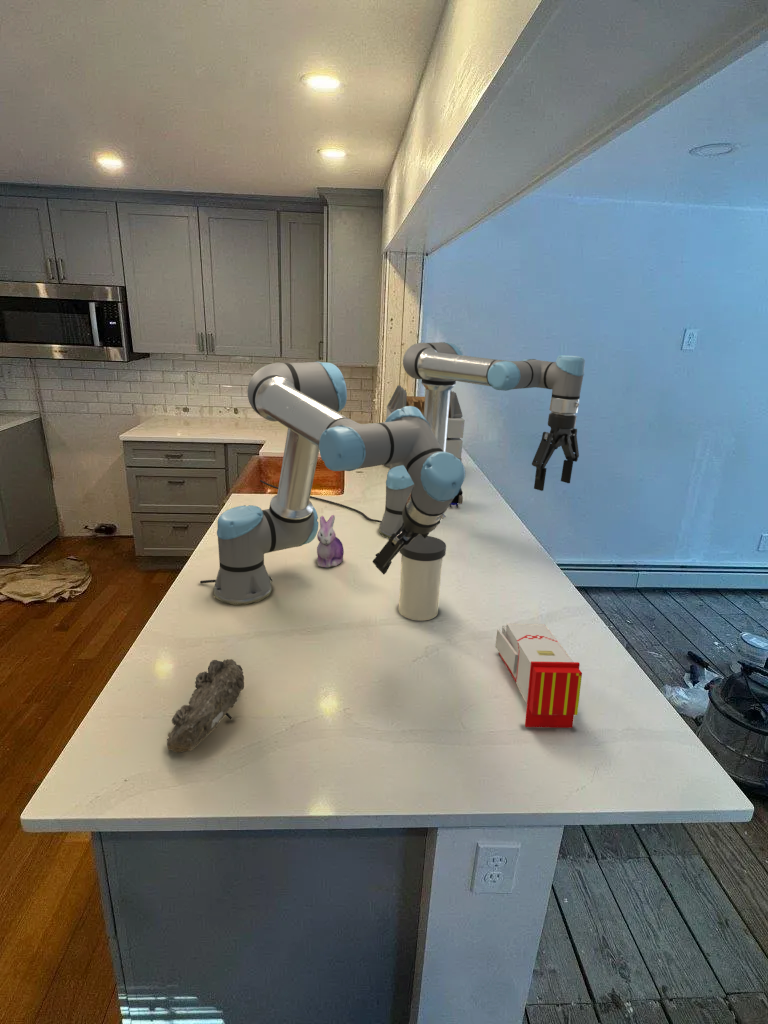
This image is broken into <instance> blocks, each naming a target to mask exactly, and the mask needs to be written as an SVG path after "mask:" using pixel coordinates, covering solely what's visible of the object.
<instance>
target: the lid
mask: <svg viewBox="0 0 768 1024" xmlns="http://www.w3.org/2000/svg"><path fill="white" fill-rule="evenodd" d="M406 538H407V539H408V540H409V539H410V538H411V537H406ZM446 551H447V544H446V542H444V540H442V539H441V538H438V537H434V536H431V535H428V536H427V537H426V538H424V537H423V536H422V535H418V536H417V537H415V538H414V539H413V540H412V541H411V542H410V543H409V544H408V545H405V546H404V547H403V548H402V549H401V550H400V551H399V553H400V555H401V556H402V555H403V556H405V557H407V558H409V559H412V560H417V561H435V560H438V559H441V558H442V559H443V558H444V557H445V556H446Z"/></svg>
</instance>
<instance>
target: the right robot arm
mask: <svg viewBox="0 0 768 1024" xmlns="http://www.w3.org/2000/svg"><path fill="white" fill-rule="evenodd" d="M585 365H586V360H585V358H584V357H582V356H578V355H566V354H565V355H564V354H563V355H558V356H557V357H556V360H555V361H549V360H541V359H536V358H524V359H521V360H506V359H505V360H504V359H503V360H502V359H496V358H487V357H479V356H471V355H464V354H463V352H462V350H461V349H460V347H459V346H457V345H456V344H455V343H451V342H445V341H443V342H442V341H441V342H440V341H439V342H438V341H437V342H417V343H414V344H412V345H411V346H409V347H408V348H407V350H406V351H405V353H404V355H403V358H402V366H403V369H404V372H405V373H406V374H407V375H408V376H409V377H411V378H412V379H415V380H421V385H422V386H423V387H424V389H425V392H424V397H425V404H424V417H425V419H426V421H427V422H428V423H429V425H430V428H431V430H432V432H433V433H434V435H435V437H436V439H437V441H438V443H439V445H440V447H441V448H442V450H443V452H446V441H447V428H448V416H449V404H450V392H451V391H452V389H453V388H454V387H455V386H456V384H457V382H461V383H465V384H473V385H479V386H487V387H491V388H492V389H494V390H496V391H503V392H504V391H511V390H520V389H532V388H533V389H534V388H539V389H546V390H551V398H550V404H549V413H548V418H547V419H548V420H547V426H548V427H549V428H550V431H549V432H548V431H543V432H542V435H541V440H540V442H539V445H538V447H537V449H536V452H535V454H534V457H533V460H532V461H531V466H533V467H535V475H534V477H535V478H534V485H533V489H534V490H537V491H539V492H543V491H544V489H545V484H546V483H545V482H546V476H547V468H546V466H547V465H548V463H549V461H550V459H551V457H552V456H553V454H554V453H555V451H556V450H557V449H558V448H560V447H561V449H562V452H563V455H564V458H565V459H563V463H562V468H561V469H562V470H561V475H560V482H562V483H566V484H571V478H572V472H573V466H574V463H576V462H578V461H579V457H580V453H579V444H578V428H576V423H577V419H578V416H577V414H578V412H579V411H578V410H579V406H580V397H581V391H582V385H583V380H584V376H585ZM259 482H260V483H262V484H264V485H266V486H267V487H270V488H273V489H276V490H278V487H279V486H276V485H273V484H271V483H268V482H266V481H264V480H262V479H260V480H259ZM413 487H414V483H413V481H412V479H411V477H410V475H409V474H408V472H407V470H406V468H405V467H404V465H401V466H396V467H394V468H392V469H390V468H389V470H388V472H387V474H386V479H385V504H384V505H385V507H384V508H385V509H384V513H383V515H382V519H381V520H379V519H375V518H370V517H368V516H367V515H366V514H365V513H364V512H362V511H360V510H359V509H356V508H353V507H350V506H348V505H345V504H342V503H338V502H335V501H332V500H329V499H324V498H320V497H317V496H312V495H310V499H313V500H318V501H321V502H325V503H329V504H333V505H336V506H339V507H343V508H345V509H348V510H351V511H354V512H355V513H358V514H360V515H362V516H363V517H364V518H365V519H366V520H368V521H370V522H375V523H379V526H378V533H379V534H380V535H381V536H382V537H385V538H387V539H390V537H391V536H392V534H393V533H396V532H397V531H398V530H399V529H400V528H401V526H402V524H403V518H402V512H403V509H404V506H405V504H406V502H407V500H408V497H409V495H410V493H411V491H412V489H413ZM419 535H421V534H419Z"/></svg>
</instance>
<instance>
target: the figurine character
mask: <svg viewBox="0 0 768 1024" xmlns="http://www.w3.org/2000/svg"><path fill="white" fill-rule="evenodd" d="M463 493H464V492H463V489H462V488H461V489H460V491H459V493H458V494H457V495H456V496H455V497H454V499H453V500H452V502H451V503H450V505H449V508H452V506H456V507H455V508H456V509H458V508H459V505H463V501H464V495H463Z"/></svg>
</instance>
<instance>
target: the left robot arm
mask: <svg viewBox="0 0 768 1024" xmlns="http://www.w3.org/2000/svg"><path fill="white" fill-rule="evenodd" d="M342 373H343V372H342V371H341V370H340V369H339V367H338V366H337V365H335V364H334V363H332V362H323V361H318V360H317V361H312V362H311V361H310V362H307V361H305V362H273V363H269V364H266V365H264V366H261V367H260V368H259V369H258V370H257V371H256V372H255V373H253V375H252V377H251V378H250V380H249V382H248V385H247V400H248V402H249V405H250V406H251V408H252V409H253V411H254V412H255V413H256V414H258V415H259V416H260V417H262V418H263V419H265V420H266V421H269V422H278V423H280V424H281V425H283V426H284V427H286V428H287V431H286V438H285V444H284V449H283V456H282V457H283V458H282V461H281V468H280V476H279V480H278V481H279V482H278V486H277V487H278V489H277V494H275V495H274V496H272V497H271V499H270V502H269V508H267V509H262V508H261V507H259V506H257V505H254V504H253V505H251V504H250V505H238V506H234V507H231V508H229V509H226V510H225V511H223V512H222V513H221V514H220V515H219V516H218V519H217V530H216V536H217V544H218V545H217V546H218V561H219V569H218V572H217V576H216V578H215V579H205V580H200V581H199V583H200V584H208V583H209V584H210V583H214V586H213V592H214V598H216V599H217V600H218V601H219V602H221V603H224V604H228V605H236V606H237V605H239V606H240V605H249V604H250V605H251V604H255V603H258V602H261V601H263V600H265V599H267V598H268V597H269V596H270V595H271V593H272V590H273V587H272V586H273V585H272V582H273V579H272V576H270V574H268V571H267V568H266V565H265V554H269V553H273V552H277V551H278V552H279V551H283V550H287V549H293V548H298V547H302V546H304V545H307V544H310V543H311V542H313V541H314V539H315V538H316V537H317V534H318V532H319V522H318V519H319V515H318V512H317V510H316V508H315V506H314V505H313V503H312V501H311V498H310V496H311V493H312V489H313V483H314V479H315V473H316V469H317V463H318V458H319V456H320V458H321V460H322V461H323V462H324V466H325V467H326V469H328V470H330V471H332V472H342V471H343V472H351V471H352V472H353V471H356V470H360V469H367V468H373V467H378V466H384V465H386V464H393V463H400V462H402V463H403V465H404V467H405V468H406V470H407V472H408V474H409V475H410V477H411V479H412V481H413V483H414V487H413V489H412V491H411V493H410V495H409V497H408V500H407V502H406V504H405V506H404V509H403V512H402V518H403V524H402V526H401V528H400V529H399V530H398V531H397V532H396V533H393V534H392V536H391V537H390V538H388V540H387V542H386V543H385V544H384V546H383V547H382V548H381V549H380V551H379V552H377V553H376V554H375V557H374V559H373V560H372V563H373V565H375V568H376V569H378V570H379V572H380V573H381V574H382V575H386V574H387V573H388V570H389V568H390V566H391V565H392V563H393V562H392V561H393V559H394V558H395V557H396V556H397V555H398V554H399V553H400V550H401V549H402V548H403V547H404V546H405V545H408V544H409V543H410V542H411V541H412V540H413V539H414V538H415V537H417V536H418V535H419V534H421V535H422V536H423V537H424V538H426V537H427V536H429V534H430V533H432V532H433V531H434V530H435V529H436V528H437V527H438V525H439V524H440V523H441V520H445V519H446V516H447V515H446V511H448V508H450V506H449V505H450V503H451V502H452V500H453V499H454V497H455V496H456V495H457V494H458V493H459V491H460V489H462V485H463V484H464V482H465V478H466V468H465V466H464V463H463V462H461V461H460V459H458V458H456V457H455V456H454V455H453V454H451V453H448V452H443V450H442V448H441V447H440V445H439V443H438V441H437V439H436V437H435V435H434V433H433V432H432V430H431V428H430V425H429V423H428V422H427V421H426V419H425V417H424V416H423V415H422V413H421V412H420V410H419V409H418V408H416V407H413V406H405V407H403V408H402V409H397V410H395V411H394V412H392V413H391V414H390V415H389V416H388V417H387V419H386V418H385V421H384V422H383V421H382V422H375V423H374V422H373V423H359V422H357V421H355V420H353V419H351V418H349V417H347V416H345V415H343V414H341V413H340V412H341V411H342V410H343V409H344V408H345V407H346V405H347V401H348V400H347V399H348V391H347V384H346V381H345V378H344V375H343V374H342ZM319 454H320V455H319ZM406 537H411V538H410V539H409V540H408V539H407V538H406Z"/></svg>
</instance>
